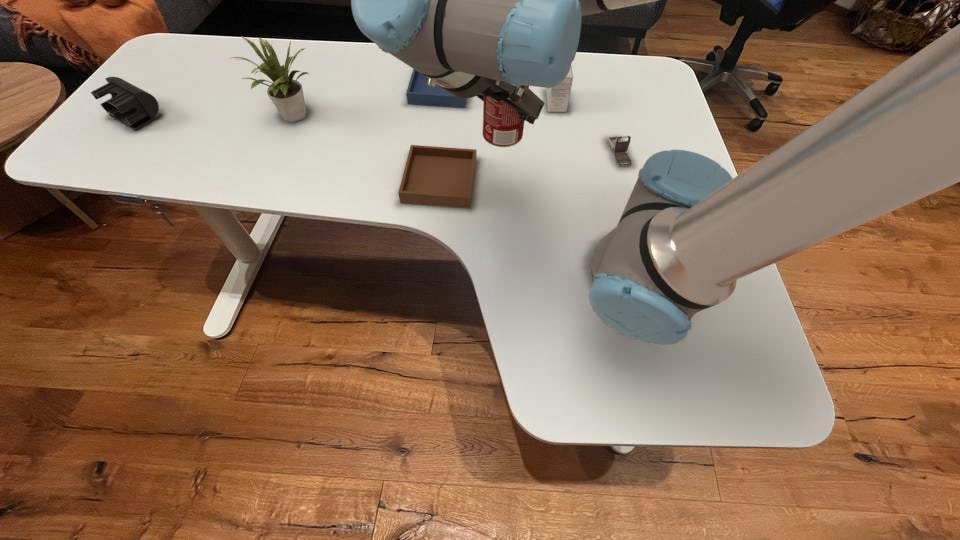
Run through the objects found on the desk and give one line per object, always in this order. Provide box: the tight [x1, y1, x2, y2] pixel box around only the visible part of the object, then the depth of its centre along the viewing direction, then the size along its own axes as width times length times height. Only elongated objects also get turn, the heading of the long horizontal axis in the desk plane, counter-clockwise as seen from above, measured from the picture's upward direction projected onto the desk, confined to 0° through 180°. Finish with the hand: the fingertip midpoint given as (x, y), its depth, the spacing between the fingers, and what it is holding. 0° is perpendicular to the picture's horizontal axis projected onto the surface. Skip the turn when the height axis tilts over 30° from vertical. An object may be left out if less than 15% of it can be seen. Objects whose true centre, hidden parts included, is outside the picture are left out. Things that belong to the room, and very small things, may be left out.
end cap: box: [90, 76, 160, 132], centre depth 92 cm, size 10×7×7 cm
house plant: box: [227, 36, 310, 123], centre depth 89 cm, size 14×14×16 cm
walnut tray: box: [397, 144, 477, 209], centre depth 84 cm, size 13×13×3 cm
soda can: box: [482, 85, 530, 148], centre depth 68 cm, size 7×7×12 cm
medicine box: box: [545, 66, 574, 113], centre depth 96 cm, size 8×4×9 cm, turn 179°
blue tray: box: [405, 68, 468, 109], centre depth 101 cm, size 13×13×3 cm
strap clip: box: [606, 135, 632, 167], centre depth 89 cm, size 8×3×4 cm, turn 8°
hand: (514, 107), depth 72 cm, fingers closed on soda can, 7 cm apart
